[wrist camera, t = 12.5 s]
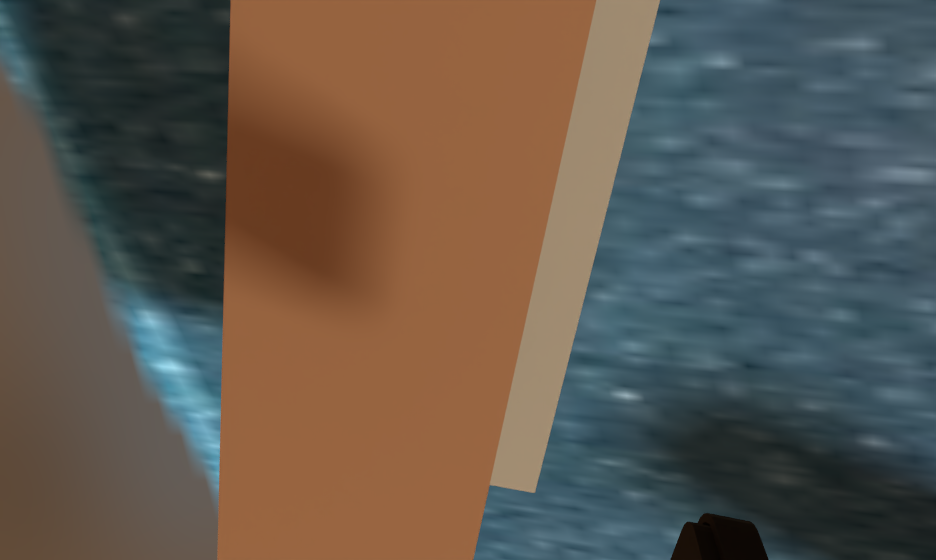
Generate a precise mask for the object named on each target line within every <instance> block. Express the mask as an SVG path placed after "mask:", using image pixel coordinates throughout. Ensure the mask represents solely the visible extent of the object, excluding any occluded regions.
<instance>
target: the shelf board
mask: <svg viewBox="0 0 936 560" xmlns="http://www.w3.org/2000/svg"><path fill="white" fill-rule="evenodd" d="M595 4H596V0H231V11H230V53H229V95H228V138H227V180H226V222H225V264H224V306H223V349H222V391H221V433H220V475H219V518H218V560H473V558H474V553H475V548H476V544H477V539H478V535H479V530H480V526H481V521H482V517H483V512H484V508H485V503H486V499H487V494H488V489H489V485H490V480H491V476H492V471H493V467H494V462H495V458H496V453H497V449H498V444H499V440H500V435H501V431H502V426H503V421H504V417H505V412H506V408H507V403H508V399H509V394H510V390H511V385H512V381H513V376H514V372H515V367H516V363H517V358H518V353H519V349H520V344H521V340H522V335H523V331H524V326H525V322H526V317H527V313H528V308H529V304H530V299H531V295H532V290H533V285H534V281H535V276H536V272H537V267H538V263H539V258H540V254H541V249H542V245H543V240H544V236H545V231H546V226H547V222H548V217H549V213H550V208H551V204H552V199H553V195H554V190H555V186H556V181H557V177H558V172H559V168H560V163H561V158H562V154H563V149H564V145H565V140H566V136H567V131H568V127H569V122H570V118H571V113H572V109H573V104H574V100H575V95H576V90H577V86H578V81H579V77H580V72H581V68H582V63H583V59H584V54H585V50H586V45H587V41H588V36H589V31H590V27H591V22H592V18H593V13H594V9H595Z"/></svg>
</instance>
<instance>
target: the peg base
mask: <svg viewBox="0 0 936 560" xmlns="http://www.w3.org/2000/svg"><path fill="white" fill-rule="evenodd" d="M659 2H660V0H596V4H595V9H594V13H593V18H592V22H591V27H590V31H589V36H588V41H587V45H586V50H585V54H584V59H583V63H582V68H581V72H580V77H579V81H578V86H577V90H576V95H575V100H574V104H573V109H572V113H571V118H570V122H569V127H568V131H567V136H566V140H565V145H564V149H563V154H562V158H561V163H560V168H559V172H558V177H557V181H556V186H555V190H554V195H553V199H552V204H551V208H550V213H549V217H548V222H547V226H546V231H545V236H544V240H543V245H542V249H541V254H540V258H539V263H538V267H537V272H536V276H535V281H534V285H533V290H532V295H531V299H530V304H529V308H528V313H527V317H526V322H525V326H524V331H523V335H522V340H521V344H520V349H519V353H518V358H517V363H516V367H515V372H514V376H513V381H512V385H511V390H510V394H509V399H508V403H507V408H506V412H505V417H504V421H503V426H502V431H501V435H500V440H499V444H498V449H497V453H496V458H495V462H494V467H493V471H492V476H491V480H490V485H494V486H499V487H505V488H510V489H516V490H521V491H527V492H532V493H535V490H536V486H537V482H538V478H539V474H540V470H541V466H542V462H543V458H544V454H545V450H546V447H547V443H548V439H549V435H550V431H551V427H552V423H553V419H554V415H555V411H556V407H557V403H558V399H559V395H560V391H561V388H562V384H563V380H564V376H565V372H566V368H567V364H568V360H569V356H570V352H571V348H572V344H573V340H574V336H575V332H576V329H577V325H578V321H579V317H580V313H581V309H582V305H583V301H584V297H585V293H586V289H587V285H588V281H589V277H590V273H591V269H592V266H593V262H594V258H595V254H596V250H597V246H598V242H599V238H600V234H601V230H602V226H603V222H604V218H605V214H606V210H607V207H608V203H609V199H610V195H611V191H612V187H613V183H614V179H615V175H616V171H617V167H618V163H619V159H620V155H621V151H622V147H623V144H624V140H625V136H626V132H627V128H628V124H629V120H630V116H631V112H632V108H633V104H634V100H635V96H636V92H637V88H638V85H639V81H640V77H641V73H642V69H643V65H644V61H645V57H646V53H647V49H648V45H649V41H650V37H651V33H652V29H653V26H654V22H655V18H656V14H657V10H658V6H659Z"/></svg>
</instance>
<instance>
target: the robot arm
mask: <svg viewBox="0 0 936 560" xmlns="http://www.w3.org/2000/svg"><path fill="white" fill-rule="evenodd" d="M671 560H768V557H767V554H766V551H765V549H764V546H763V543H762V541H761V538H760V535H759V533H758V530H757V529H756V527H755V525H754V524H753V523H752V522H750V521H745V520H740V519H735V518H730V517H725V516H720V515H715V514H709V513H705V514H703V515H702V516H701V517H700V519H699V521H698V523H693V522H687V523H686V524H685V525H684V527H683V529H682V531H681V533H680V536H679V539H678V541H677V544H676V547H675V549H674V552H673V554H672V557H671Z"/></svg>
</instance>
